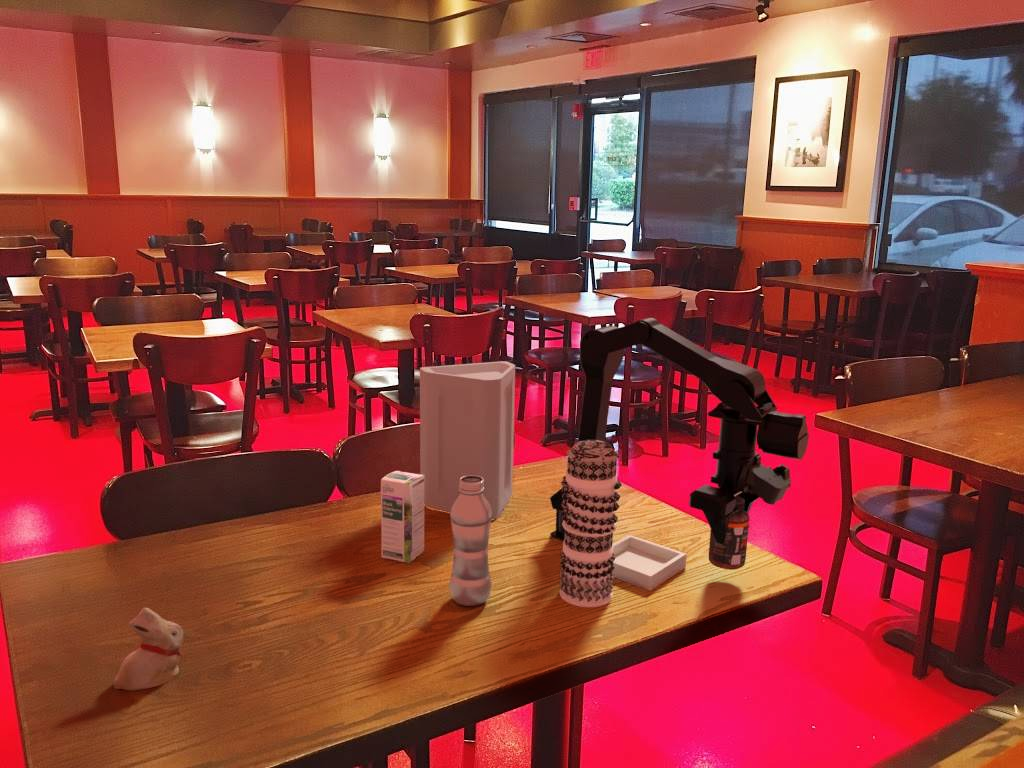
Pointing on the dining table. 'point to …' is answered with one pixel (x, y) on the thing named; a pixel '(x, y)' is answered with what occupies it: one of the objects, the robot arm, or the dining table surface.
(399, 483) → the syrup box
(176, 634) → the chocolate bunny
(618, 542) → the tray
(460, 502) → the plastic bottle
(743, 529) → the supplement bottle
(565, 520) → the decorative candle
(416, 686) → the dining table surface
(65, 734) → the dining table surface
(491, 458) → the triangular storage bin
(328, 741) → the dining table surface
